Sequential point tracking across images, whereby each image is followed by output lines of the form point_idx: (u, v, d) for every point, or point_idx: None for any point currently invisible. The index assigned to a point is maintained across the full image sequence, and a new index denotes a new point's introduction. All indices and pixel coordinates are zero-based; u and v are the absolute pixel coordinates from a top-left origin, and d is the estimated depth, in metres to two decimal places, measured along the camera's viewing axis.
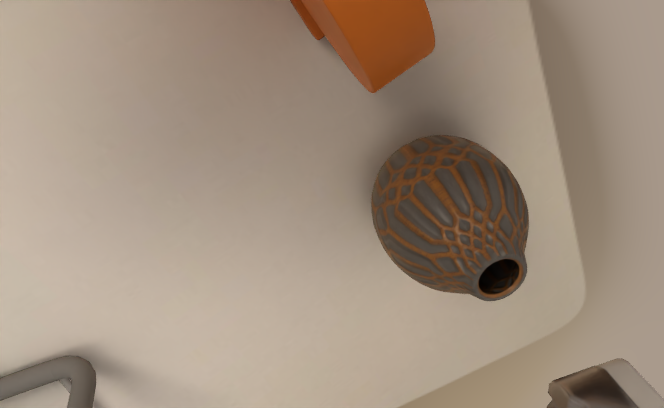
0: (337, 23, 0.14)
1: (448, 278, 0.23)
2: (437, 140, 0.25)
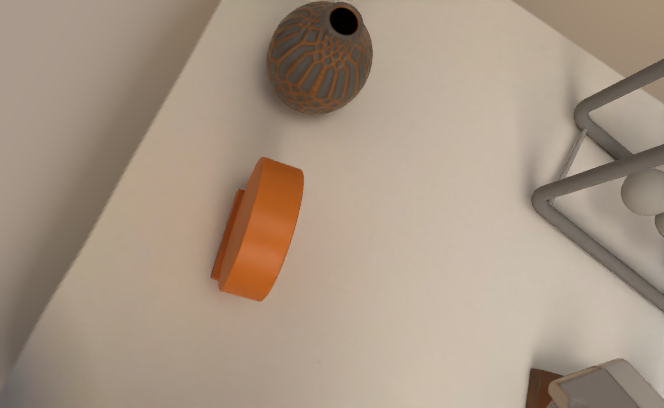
0: (296, 219, 0.28)
1: (362, 45, 0.33)
2: (284, 97, 0.36)
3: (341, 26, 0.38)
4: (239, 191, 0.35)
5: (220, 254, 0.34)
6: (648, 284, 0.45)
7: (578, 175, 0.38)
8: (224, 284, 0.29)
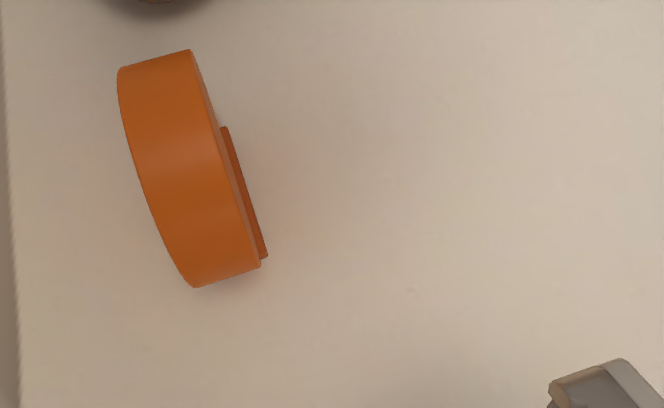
0: (207, 112, 0.16)
1: None
2: None
3: None
4: None
5: None
6: None
7: None
8: (183, 276, 0.17)
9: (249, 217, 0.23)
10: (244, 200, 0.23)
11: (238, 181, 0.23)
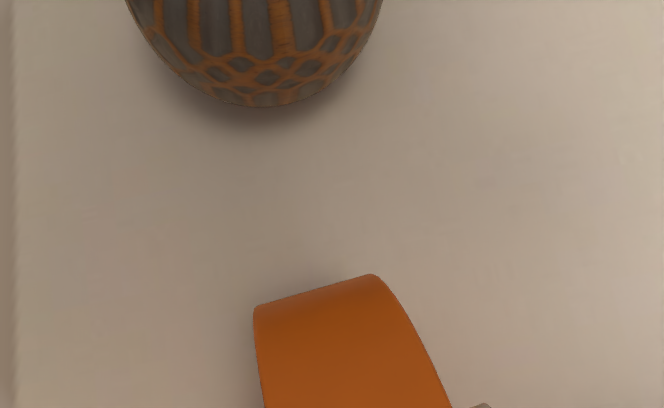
0: None
1: None
2: (234, 98, 0.14)
3: None
4: None
5: None
6: None
7: None
8: None
9: None
10: None
11: None
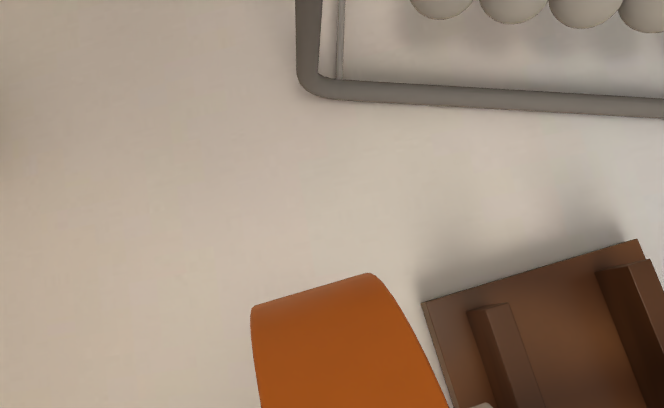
0: None
1: None
2: None
3: None
4: None
5: None
6: (531, 93, 0.30)
7: None
8: None
9: None
10: None
11: None
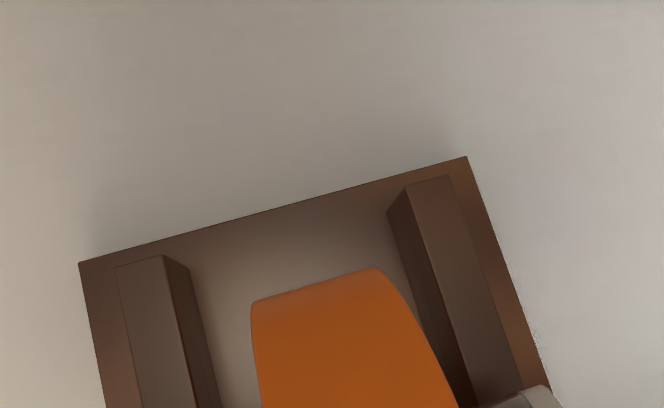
0: None
1: None
2: None
3: None
4: None
5: None
6: None
7: None
8: None
9: None
10: None
11: None
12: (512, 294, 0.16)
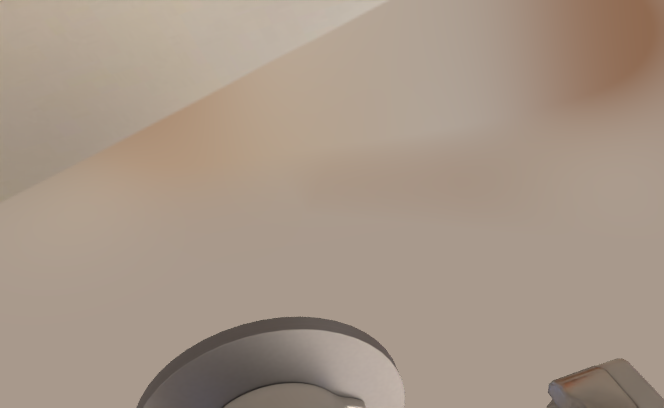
0: None
1: None
2: None
3: None
4: None
5: None
6: None
7: None
8: None
9: None
10: None
11: None
12: None
